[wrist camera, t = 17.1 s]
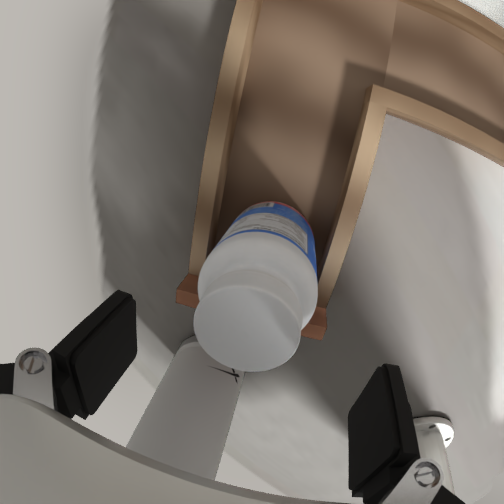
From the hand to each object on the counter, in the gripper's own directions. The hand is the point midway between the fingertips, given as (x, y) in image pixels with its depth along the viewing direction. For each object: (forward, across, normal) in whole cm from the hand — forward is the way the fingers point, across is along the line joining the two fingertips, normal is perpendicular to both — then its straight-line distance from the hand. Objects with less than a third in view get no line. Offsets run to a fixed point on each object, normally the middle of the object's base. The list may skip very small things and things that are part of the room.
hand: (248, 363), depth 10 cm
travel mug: (+12, +3, +12) cm, 17 cm away
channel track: (+11, -5, -9) cm, 15 cm away
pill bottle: (+10, +1, -1) cm, 11 cm away
